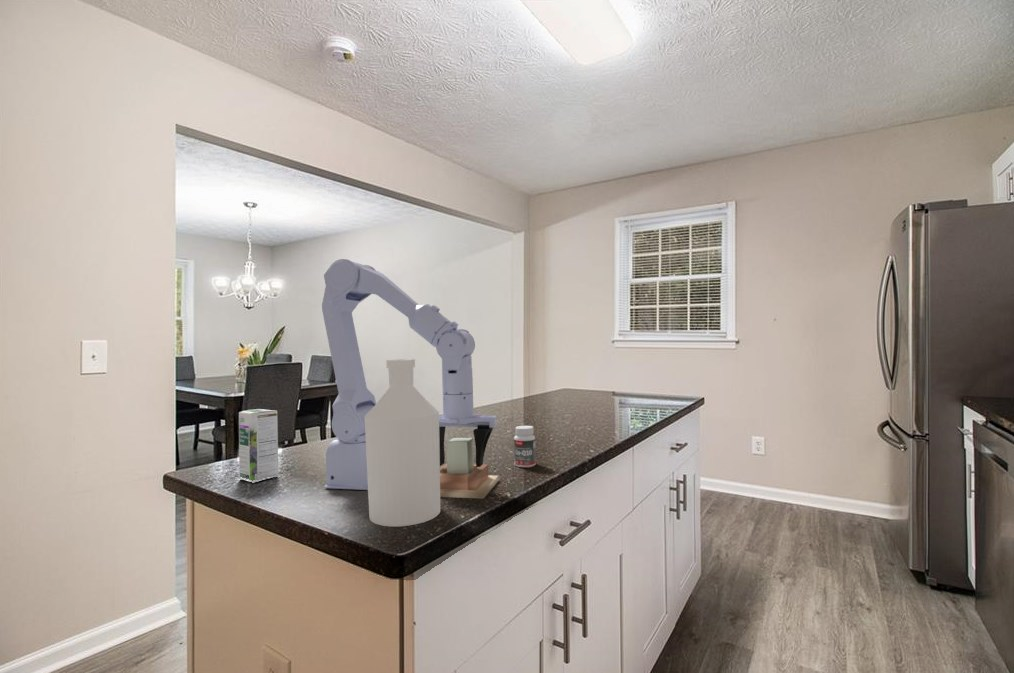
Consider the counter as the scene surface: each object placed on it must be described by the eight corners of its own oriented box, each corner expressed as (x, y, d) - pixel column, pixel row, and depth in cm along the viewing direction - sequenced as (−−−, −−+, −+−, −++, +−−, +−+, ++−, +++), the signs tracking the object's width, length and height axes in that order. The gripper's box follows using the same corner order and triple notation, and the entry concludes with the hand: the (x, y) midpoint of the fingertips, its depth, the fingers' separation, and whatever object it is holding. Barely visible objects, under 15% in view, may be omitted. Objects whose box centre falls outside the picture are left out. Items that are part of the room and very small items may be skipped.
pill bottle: (513, 467, 106) (511, 429, 106) (516, 462, 111) (515, 425, 111) (534, 467, 105) (533, 429, 105) (537, 462, 110) (535, 425, 110)
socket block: (419, 495, 88) (419, 476, 88) (441, 478, 99) (440, 461, 99) (483, 498, 86) (482, 478, 86) (498, 480, 96) (498, 462, 96)
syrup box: (238, 480, 103) (236, 411, 103) (265, 473, 107) (263, 407, 108) (252, 484, 99) (250, 413, 99) (280, 477, 104) (278, 409, 104)
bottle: (410, 497, 88) (406, 358, 88) (457, 509, 80) (452, 358, 81) (352, 516, 79) (348, 361, 79) (398, 533, 71) (393, 361, 72)
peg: (447, 485, 91) (446, 442, 91) (454, 479, 95) (452, 437, 95) (468, 485, 90) (467, 442, 90) (474, 479, 94) (472, 438, 94)
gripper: (413, 395, 90) (415, 469, 90) (489, 395, 87) (491, 471, 87) (428, 391, 97) (430, 460, 97) (498, 391, 94) (501, 461, 94)
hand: (460, 465), depth 92 cm, fingers open, 7 cm apart
